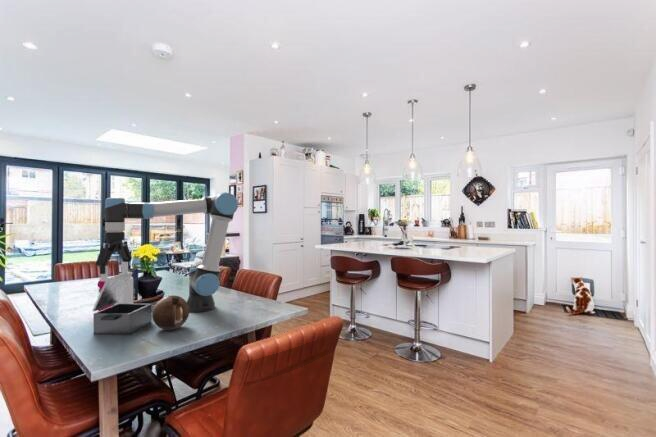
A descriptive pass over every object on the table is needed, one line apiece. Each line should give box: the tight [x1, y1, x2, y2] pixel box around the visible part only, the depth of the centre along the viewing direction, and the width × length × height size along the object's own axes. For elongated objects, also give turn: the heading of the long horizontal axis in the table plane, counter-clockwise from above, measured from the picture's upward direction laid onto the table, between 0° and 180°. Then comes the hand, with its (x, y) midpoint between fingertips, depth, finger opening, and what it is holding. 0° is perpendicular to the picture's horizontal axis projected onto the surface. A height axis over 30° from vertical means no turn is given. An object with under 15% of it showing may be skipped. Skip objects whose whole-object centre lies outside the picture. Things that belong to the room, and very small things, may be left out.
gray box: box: [93, 303, 152, 336], centre depth 148 cm, size 16×21×9 cm
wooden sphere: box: [151, 295, 190, 331], centre depth 147 cm, size 15×15×15 cm
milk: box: [113, 271, 134, 306], centre depth 168 cm, size 6×6×22 cm
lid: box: [92, 271, 134, 312], centre depth 149 cm, size 16×16×3 cm
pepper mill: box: [97, 280, 114, 312], centre depth 169 cm, size 7×7×20 cm
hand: (114, 278), depth 148 cm, fingers open, 13 cm apart
